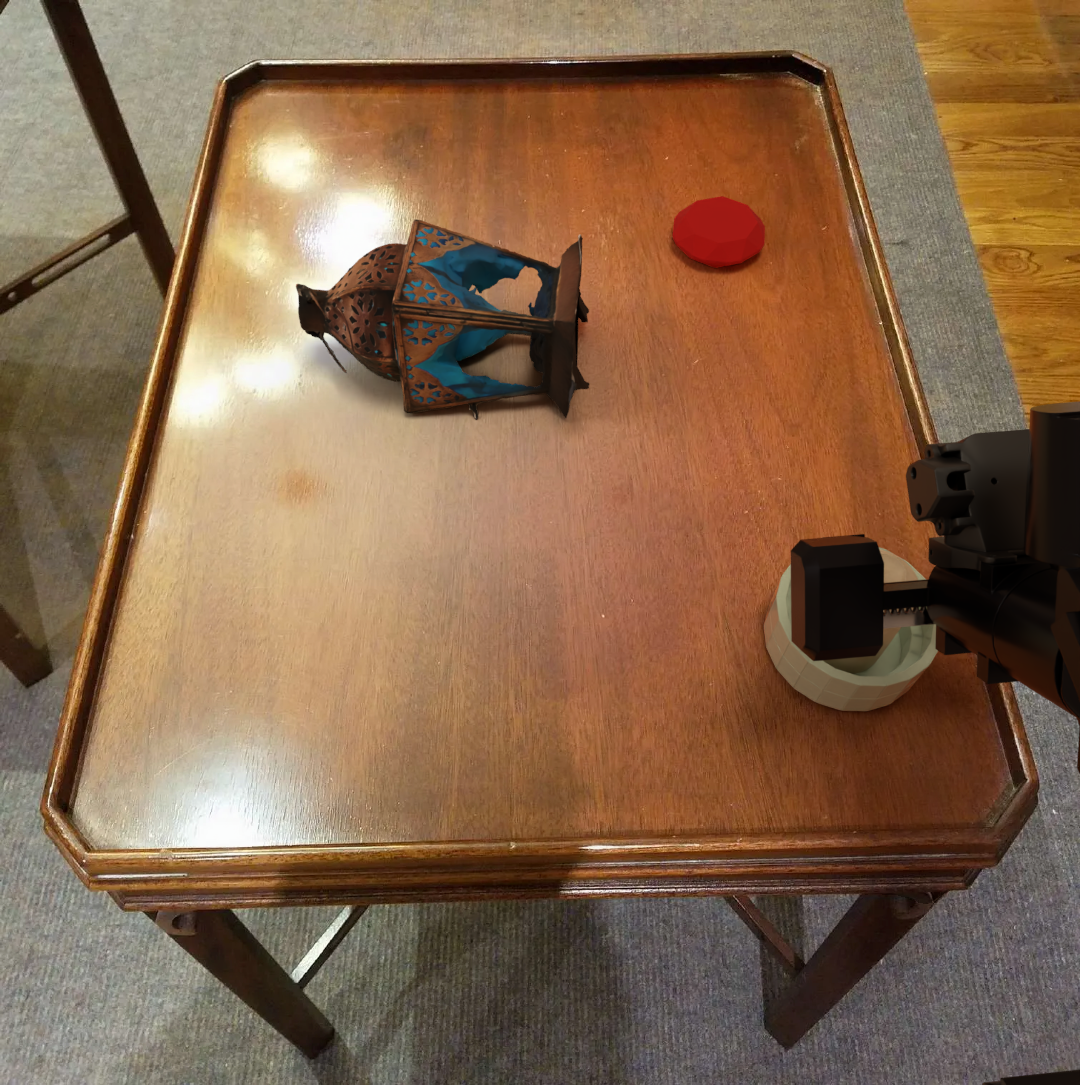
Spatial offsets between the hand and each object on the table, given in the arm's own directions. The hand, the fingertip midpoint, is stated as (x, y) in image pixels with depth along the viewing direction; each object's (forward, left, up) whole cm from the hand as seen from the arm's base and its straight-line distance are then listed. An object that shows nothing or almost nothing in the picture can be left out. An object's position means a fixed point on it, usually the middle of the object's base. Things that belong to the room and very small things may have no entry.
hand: (900, 551), depth 57 cm
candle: (0, 0, -13) cm, 13 cm away
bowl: (0, 0, -13) cm, 13 cm away
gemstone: (+44, +6, -14) cm, 47 cm away
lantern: (+27, +31, -14) cm, 44 cm away
